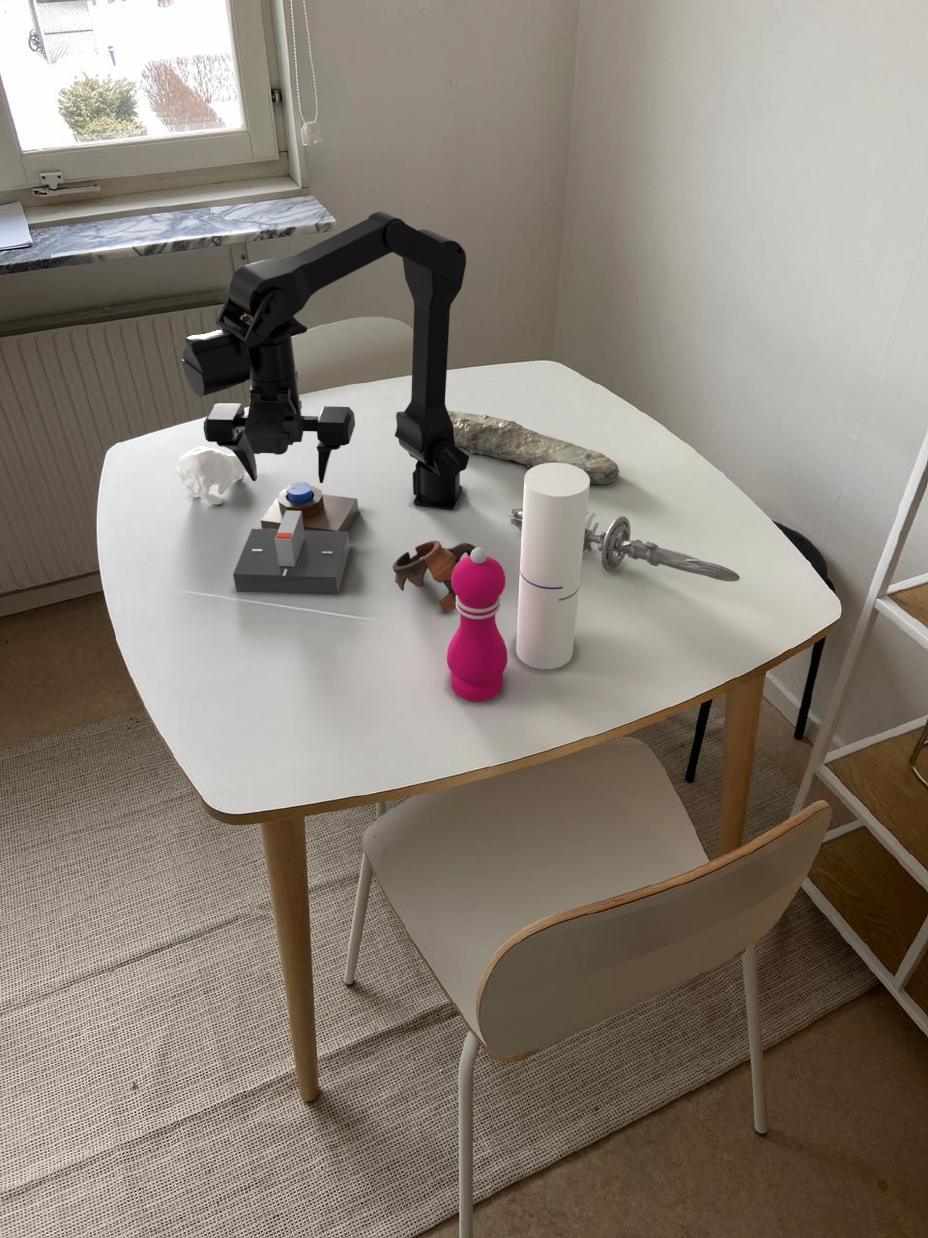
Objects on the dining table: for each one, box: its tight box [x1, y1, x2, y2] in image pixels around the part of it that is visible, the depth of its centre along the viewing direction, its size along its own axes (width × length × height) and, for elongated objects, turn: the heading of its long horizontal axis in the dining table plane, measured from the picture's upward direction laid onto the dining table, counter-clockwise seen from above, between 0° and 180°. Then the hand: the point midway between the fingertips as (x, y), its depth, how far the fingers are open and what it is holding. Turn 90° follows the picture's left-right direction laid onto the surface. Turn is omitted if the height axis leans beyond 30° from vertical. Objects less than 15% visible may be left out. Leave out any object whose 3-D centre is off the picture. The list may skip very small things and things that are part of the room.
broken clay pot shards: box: [392, 540, 477, 614], centre depth 125 cm, size 12×10×8 cm
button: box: [286, 481, 313, 504], centre depth 137 cm, size 4×4×2 cm
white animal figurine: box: [175, 446, 247, 506], centre depth 144 cm, size 6×8×12 cm
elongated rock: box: [447, 410, 620, 485], centre depth 154 cm, size 35×5×10 cm
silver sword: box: [509, 506, 741, 582], centre depth 128 cm, size 8×35×8 cm
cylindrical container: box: [515, 463, 591, 670], centre depth 109 cm, size 7×7×25 cm
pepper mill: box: [446, 547, 509, 703], centre depth 106 cm, size 7×7×20 cm
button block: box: [260, 484, 359, 532], centre depth 138 cm, size 12×9×4 cm
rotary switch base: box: [232, 528, 351, 596], centre depth 129 cm, size 14×11×3 cm
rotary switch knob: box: [275, 510, 305, 567], centre depth 127 cm, size 7×2×5 cm, turn 176°
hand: (288, 480), depth 125 cm, fingers open, 9 cm apart
